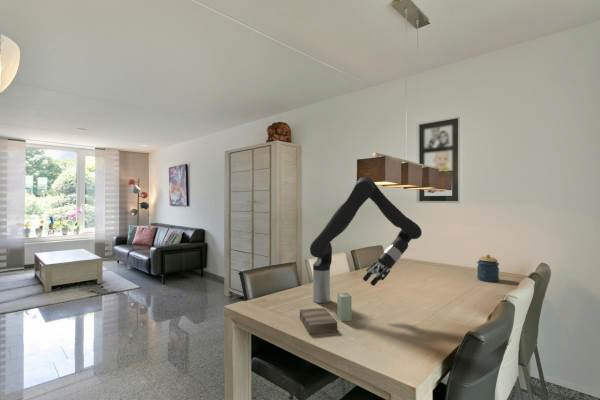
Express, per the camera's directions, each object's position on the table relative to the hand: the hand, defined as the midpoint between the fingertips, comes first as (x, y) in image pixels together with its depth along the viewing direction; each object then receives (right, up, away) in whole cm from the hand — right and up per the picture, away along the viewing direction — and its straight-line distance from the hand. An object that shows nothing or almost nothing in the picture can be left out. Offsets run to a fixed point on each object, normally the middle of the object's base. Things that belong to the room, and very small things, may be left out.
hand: (367, 282), depth 145 cm
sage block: (-11, -16, -2) cm, 20 cm away
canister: (+98, -17, +68) cm, 120 cm away
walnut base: (-24, -16, -9) cm, 31 cm away
